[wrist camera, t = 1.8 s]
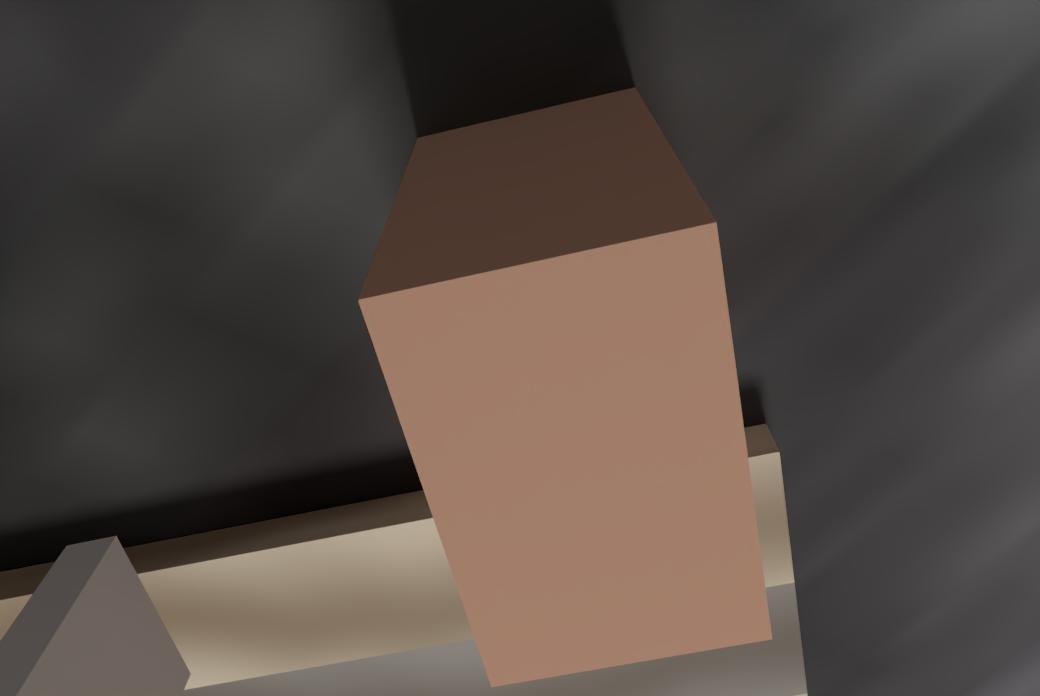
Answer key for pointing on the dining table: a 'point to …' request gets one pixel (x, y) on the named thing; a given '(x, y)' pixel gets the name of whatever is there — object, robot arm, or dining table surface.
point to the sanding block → (571, 389)
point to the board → (403, 609)
